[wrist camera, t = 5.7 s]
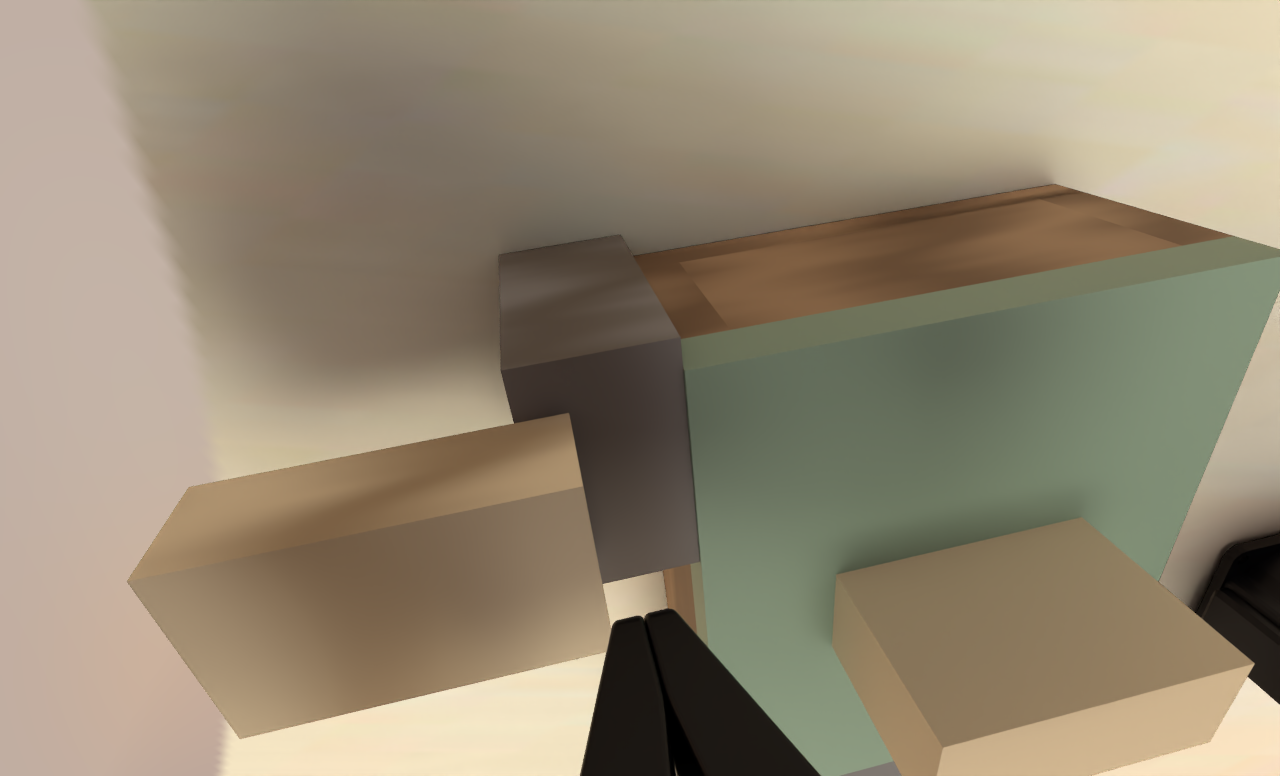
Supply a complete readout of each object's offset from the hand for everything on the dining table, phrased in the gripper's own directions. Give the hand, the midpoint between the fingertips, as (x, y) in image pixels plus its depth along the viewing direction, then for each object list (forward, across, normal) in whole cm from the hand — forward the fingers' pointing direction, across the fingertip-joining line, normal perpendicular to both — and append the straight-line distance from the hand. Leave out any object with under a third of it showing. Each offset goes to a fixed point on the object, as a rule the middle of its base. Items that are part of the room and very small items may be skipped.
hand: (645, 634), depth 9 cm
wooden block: (+3, +3, 0) cm, 5 cm away
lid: (+5, -8, +5) cm, 10 cm away
